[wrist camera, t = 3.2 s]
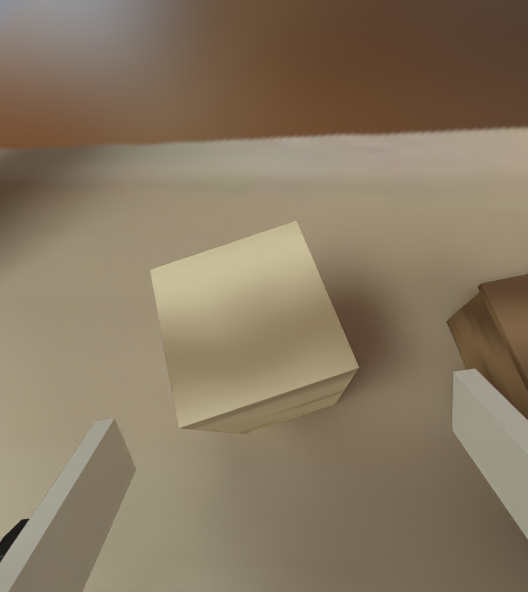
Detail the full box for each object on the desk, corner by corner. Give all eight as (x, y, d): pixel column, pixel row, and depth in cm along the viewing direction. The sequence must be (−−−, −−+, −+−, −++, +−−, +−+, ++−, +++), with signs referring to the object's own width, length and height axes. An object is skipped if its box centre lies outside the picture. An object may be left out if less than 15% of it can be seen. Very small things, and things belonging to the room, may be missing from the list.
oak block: (224, 347, 24) (150, 269, 13) (303, 320, 24) (296, 220, 13) (246, 433, 22) (178, 428, 11) (335, 404, 22) (359, 367, 11)
